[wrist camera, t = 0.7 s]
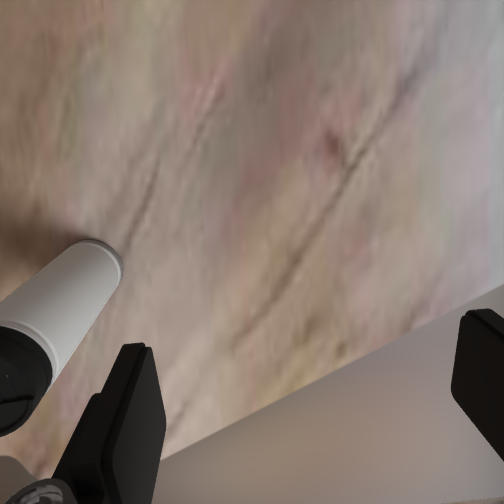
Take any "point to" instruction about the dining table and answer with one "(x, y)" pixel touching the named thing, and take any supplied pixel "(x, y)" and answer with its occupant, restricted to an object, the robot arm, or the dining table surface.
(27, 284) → the travel mug
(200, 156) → the dining table surface
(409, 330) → the dining table surface
